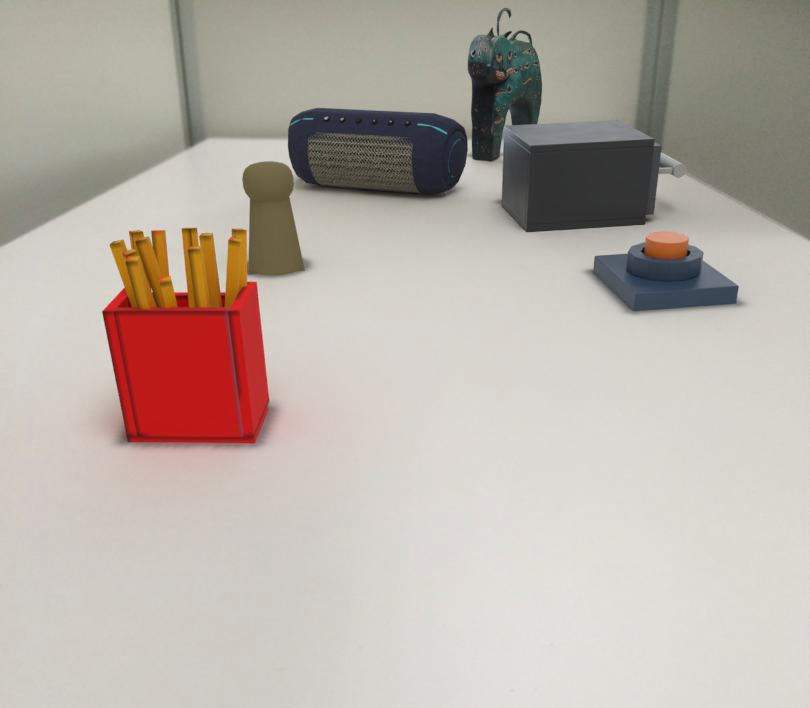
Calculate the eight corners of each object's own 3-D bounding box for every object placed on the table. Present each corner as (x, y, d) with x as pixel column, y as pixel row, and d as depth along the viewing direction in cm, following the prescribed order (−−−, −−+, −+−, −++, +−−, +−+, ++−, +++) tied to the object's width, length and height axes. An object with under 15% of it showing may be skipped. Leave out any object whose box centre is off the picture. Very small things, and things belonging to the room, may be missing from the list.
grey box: (610, 198, 126) (618, 119, 121) (645, 224, 116) (654, 138, 110) (501, 205, 124) (504, 125, 119) (526, 232, 114) (530, 145, 109)
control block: (685, 270, 101) (690, 231, 98) (735, 308, 91) (742, 266, 88) (592, 276, 99) (595, 237, 97) (633, 316, 89) (637, 274, 87)
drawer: (653, 190, 126) (661, 126, 121) (688, 212, 116) (697, 143, 112) (520, 198, 124) (523, 133, 119) (544, 221, 114) (548, 151, 110)
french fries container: (154, 408, 75) (122, 224, 67) (271, 409, 74) (252, 223, 67) (127, 450, 69) (88, 254, 61) (254, 451, 68) (231, 253, 61)
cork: (274, 259, 107) (264, 154, 101) (316, 268, 104) (308, 160, 98) (236, 274, 103) (223, 165, 97) (278, 283, 100) (268, 172, 94)
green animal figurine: (493, 164, 145) (497, 12, 134) (455, 160, 148) (456, 11, 137) (546, 140, 159) (554, 1, 148) (511, 137, 162) (516, 1, 151)
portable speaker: (278, 191, 134) (271, 112, 128) (311, 175, 141) (306, 101, 136) (448, 204, 125) (448, 121, 120) (473, 187, 133) (475, 108, 127)
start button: (677, 248, 95) (679, 230, 94) (693, 260, 92) (695, 241, 91) (637, 250, 94) (639, 232, 94) (652, 263, 91) (655, 244, 90)
